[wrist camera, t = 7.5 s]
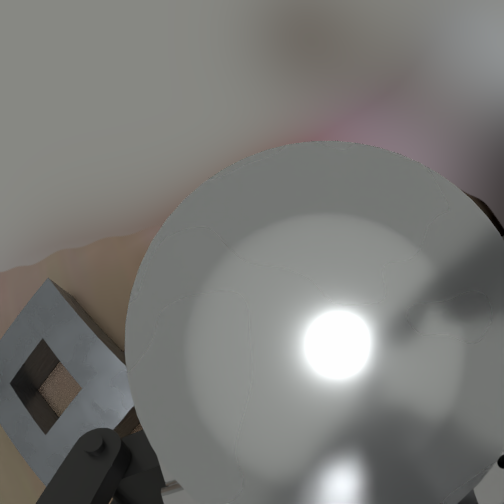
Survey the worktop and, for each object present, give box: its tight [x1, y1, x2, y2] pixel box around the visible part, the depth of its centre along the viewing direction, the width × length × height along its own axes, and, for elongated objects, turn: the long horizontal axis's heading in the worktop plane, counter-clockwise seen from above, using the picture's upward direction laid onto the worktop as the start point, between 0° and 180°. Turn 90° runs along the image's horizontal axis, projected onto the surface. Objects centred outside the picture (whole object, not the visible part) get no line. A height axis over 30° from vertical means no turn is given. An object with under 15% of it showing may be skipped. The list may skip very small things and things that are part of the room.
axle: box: [125, 141, 504, 504], centre depth 9 cm, size 4×4×16 cm
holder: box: [0, 278, 140, 487], centre depth 21 cm, size 14×14×4 cm
